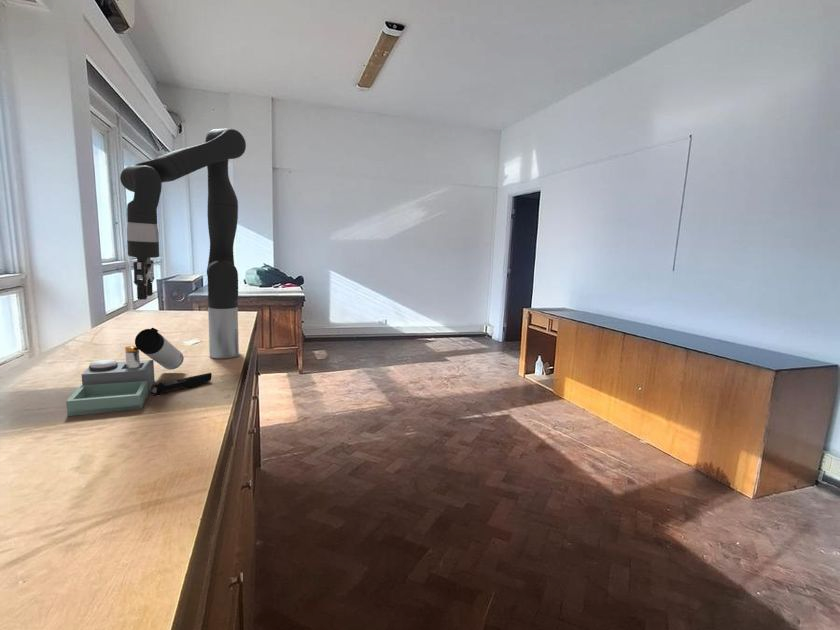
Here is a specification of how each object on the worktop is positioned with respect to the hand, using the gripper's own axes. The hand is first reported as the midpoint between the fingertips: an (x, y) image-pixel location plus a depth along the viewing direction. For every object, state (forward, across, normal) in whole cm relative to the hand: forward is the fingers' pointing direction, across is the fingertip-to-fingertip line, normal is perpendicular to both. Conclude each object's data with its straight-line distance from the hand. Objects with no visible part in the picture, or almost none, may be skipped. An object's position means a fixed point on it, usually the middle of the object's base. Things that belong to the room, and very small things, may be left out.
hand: (145, 297), depth 123 cm
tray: (+23, -23, +4) cm, 33 cm away
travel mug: (+19, +3, -6) cm, 21 cm away
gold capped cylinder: (+23, -11, +1) cm, 26 cm away
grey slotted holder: (+23, -11, +4) cm, 26 cm away
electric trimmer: (+23, -14, -10) cm, 29 cm away
